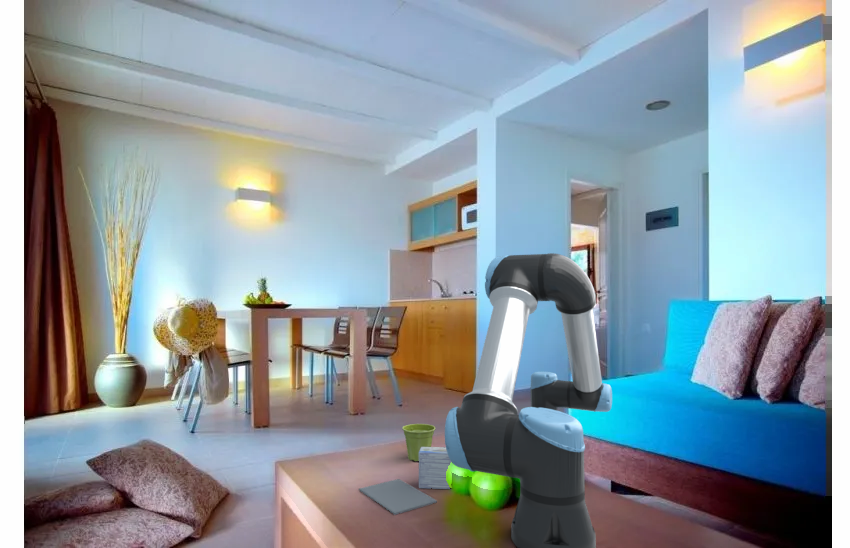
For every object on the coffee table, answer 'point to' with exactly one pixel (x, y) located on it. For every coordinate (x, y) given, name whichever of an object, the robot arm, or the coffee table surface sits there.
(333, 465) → the coffee table surface
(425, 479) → the medicine box
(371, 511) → the coffee table surface
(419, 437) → the plant pot
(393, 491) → the mat
